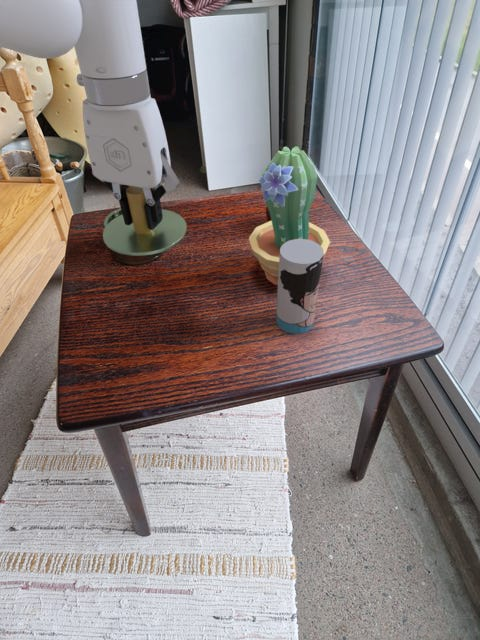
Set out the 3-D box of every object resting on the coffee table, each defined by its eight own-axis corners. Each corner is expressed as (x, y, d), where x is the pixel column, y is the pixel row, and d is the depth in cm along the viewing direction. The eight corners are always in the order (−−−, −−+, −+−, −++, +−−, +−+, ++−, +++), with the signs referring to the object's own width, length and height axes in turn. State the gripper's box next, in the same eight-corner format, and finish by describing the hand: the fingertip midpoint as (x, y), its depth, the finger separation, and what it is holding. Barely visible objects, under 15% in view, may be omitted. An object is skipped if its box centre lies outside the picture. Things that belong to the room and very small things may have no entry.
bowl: (101, 259, 90) (92, 228, 85) (129, 231, 98) (122, 201, 93) (149, 269, 87) (143, 238, 82) (174, 239, 95) (170, 209, 90)
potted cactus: (237, 262, 88) (233, 141, 71) (301, 244, 93) (312, 126, 75) (269, 306, 78) (274, 179, 61) (340, 284, 82) (363, 159, 65)
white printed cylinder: (306, 338, 72) (315, 268, 62) (270, 327, 74) (273, 257, 64) (318, 314, 76) (329, 244, 66) (284, 303, 79) (289, 235, 68)
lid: (87, 249, 62) (72, 202, 57) (131, 209, 70) (122, 164, 65) (163, 266, 59) (155, 218, 53) (200, 221, 67) (196, 176, 62)
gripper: (40, 90, 50) (82, 226, 63) (163, 104, 46) (182, 246, 58) (78, 74, 55) (110, 202, 68) (193, 85, 51) (204, 219, 63)
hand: (143, 221), depth 63 cm, fingers closed on lid, 3 cm apart
